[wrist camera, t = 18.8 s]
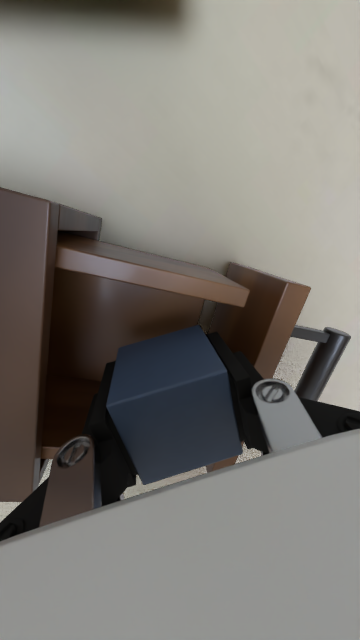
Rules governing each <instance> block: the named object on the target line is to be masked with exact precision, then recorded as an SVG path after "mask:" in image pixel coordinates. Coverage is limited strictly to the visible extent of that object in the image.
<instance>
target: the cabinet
mask: <svg viewBox="0 0 360 640" xmlns="http://www.w3.org/2000/svg"><path fill="white" fill-rule="evenodd" d="M101 222H102V218H99V217H97V216H94V215H91V214H88V213H85V212H82V211H79V210H76V209H73V208H70V207H67V206H64V205H61V204H58V203H55V202H52V201H49V200H45V199H42V198H38V197H34V196H31V195H27V194H23V193H19V192H16V191H12V190H8V189H5V188H1V187H0V502H23V501H24V500H25V499H26V498H27V497H28V496H29V495H30V494H31V493H32V492H33V491H34V490H36V489H37V488H38V486H39V483H40V481H41V478H42V476H43V473H44V471H45V469H46V466H47V464H48V461H49V459H41V446H42V432H43V419H44V406H45V392H46V379H47V365H48V352H49V338H50V325H51V312H52V298H53V285H54V271H55V258H56V244H57V231H60V232H64V233H68V234H72V235H76V236H80V237H84V238H88V239H92V240H96V241H99V238H100V230H101Z"/></svg>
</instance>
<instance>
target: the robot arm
mask: <svg viewBox="0 0 360 640" xmlns="http://www.w3.org/2000/svg"><path fill="white" fill-rule="evenodd" d="M206 337H207V338H208V340H209V342H210V343H211V345H212V347H213V348H214V350H215V352H216V353H217V355H218V357H219V358H220V360H221V362H222V363H223V365H224V367H225V368H226V370H227V374H228V379H229V384H230V392H231V397H232V402H233V407H234V412H235V417H236V422H237V427H238V432H239V437H240V441H241V442H242V441H244V442H245V444H246V446H247V448H248V449H251V448H255V449H257V450H259V451H261V455H262V456H260V457H257V458H254V459H250V460H247V461H244V462H241V463H237V464H234V465H231V466H228V467H225V468H221V469H218V470H215V471H212V472H209V473H206V474H202V475H199V476H196V477H193V478H190V479H187V480H184V481H180V482H177V483H174V484H171V485H168V486H165V487H162V488H158V489H155V490H152V491H149V492H146V493H143V494H140V495H136V496H133V497H130V498H127V499H124V495H123V492H124V491H125V489H126V488H127V487H130V486H134V485H136V475H137V474H138V473H137V470H136V468H135V466H134V464H133V462H132V460H131V458H130V456H129V454H128V451H127V449H126V447H125V445H124V443H123V441H122V439H121V437H120V435H119V432H118V430H117V428H116V426H115V424H114V422H113V420H112V418H111V416H110V414H109V412H108V409H107V407H106V404H107V399H108V394H109V390H110V385H111V381H112V376H113V372H114V367H115V362H116V361H113V362H109V363H106V366H105V370H104V373H103V377H102V380H101V383H100V387H99V390H98V393H96V394H94V396H93V399H92V402H91V405H90V409H89V412H88V415H87V418H86V422H85V425H84V428H83V431H82V434H81V435H78V436H75V437H73V438H71V439H70V440H68V441H67V442H66V443H64V444H63V445H62V446H61V447H60V448H59V450H58V451H57V452H56V454H55V456H54V458H53V461H52V465H51V470H50V475H49V477H48V478H47V479H46V480H45V481H44V482H43V483H42V484H41V485H40V486H39V487H38V488H37V489H36V490H34V491H33V492H32V493H31V494H30V495H29V496H28V497H27V498H26V499H25V500H24V501H23V502H22V503H21V504H20V505H19V506H17V507H16V508H15V509H14V510H13V511H12V512H11V513H10V514H9V515H8V516H7V517H6V518H5V519H4V520H3V521H2V522H0V640H360V412H359V411H355V410H351V409H347V408H343V407H339V406H334V405H330V404H326V403H322V402H318V401H313V400H309V399H305V398H301V397H298V396H297V395H296V393H295V391H294V390H293V388H292V387H291V386H290V385H289V384H288V383H286V382H285V381H282V380H279V379H273V378H270V379H263V377H262V376H261V375H260V374H259V372H258V371H257V370H256V369H255V368H254V366H253V365H252V364H251V363H250V361H249V360H248V359H247V358H246V357H245V355H244V354H243V353H242V352H241V351H238V352H235V353H232V351H231V350H230V349H229V347H228V346H227V345H226V343H225V342H224V340H223V339H222V338H221V336H220V335H219V334H218V332H217V331H216V332H213V333H209V334H206Z"/></svg>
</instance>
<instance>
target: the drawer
mask: <svg viewBox="0 0 360 640" xmlns="http://www.w3.org/2000/svg"><path fill="white" fill-rule="evenodd" d="M310 290H311V288H310V287H308V286H305V285H302V284H299V283H296V282H293V281H290V280H287V279H284V278H281V277H278V276H275V275H272V274H269V273H266V272H263V271H260V270H257V269H253V268H250V267H247V266H244V265H240V264H236V263H232V262H230V264H229V268H228V271H227V274H226V277H225V276H223V275H221V274H219V273H217V272H216V271H214V270H212V269H210V268H207V267H203V266H198V265H194V264H190V263H186V262H182V261H178V260H174V259H170V258H166V257H162V256H158V255H154V254H149V253H145V252H141V251H137V250H133V249H129V248H125V247H121V246H117V245H113V244H109V243H104V242H100V241H96V240H92V239H88V238H84V237H80V236H76V235H72V234H68V233H64V232H60V231H57V244H56V258H55V271H54V285H53V298H52V312H51V325H50V338H49V352H48V365H47V379H46V392H45V406H44V419H43V432H42V446H41V459H53V458H54V456H55V454H56V452H57V451H58V450H59V448H60V447H61V446H62V445H63V444H64V443H66V442H67V441H68V440H70V439H71V438H73V437H75V436H78V435H81V434H82V431H83V428H84V425H85V422H86V418H87V415H88V412H89V409H90V405H91V402H92V399H93V396H94V394H96V393H98V390H99V387H100V383H101V380H102V377H103V373H104V370H105V366H106V363H109V362H113V361H116V358H117V353H118V349H119V348H120V347H123V346H126V345H130V344H133V343H137V342H140V341H144V340H147V339H151V338H154V337H158V336H161V335H165V334H168V333H171V332H175V331H178V330H182V329H185V328H189V327H192V326H196V325H197V324H198V321H199V317H200V314H201V311H202V307H203V304H204V300H209V301H214V302H218V303H217V306H216V310H215V313H214V316H213V319H212V322H211V326H210V329H209V332H208V334H209V333H213V332H216V331H217V332H218V334H219V335H220V336H221V338H222V339H223V340H224V342H225V343H226V345H227V346H228V347H229V349H230V350H231V351H232V353H235V352H238V351H241V352H242V353H243V354H244V355H245V357H246V358H247V359H248V360H249V361H250V363H251V364H252V365H253V366H254V368H255V369H256V370H257V371H258V372H259V374H260V375H261V376H262V377H263V379H270V378H272V377H273V375H274V372H275V370H276V368H277V366H278V363H279V361H280V359H281V356H282V354H283V352H284V349H285V347H286V345H287V343H288V340H289V338H290V337H295V338H301V339H306V340H311V341H316V342H318V343H317V345H316V347H315V349H314V351H313V353H312V355H311V357H310V359H309V361H308V364H307V366H306V368H305V370H304V372H303V374H302V376H301V378H300V380H299V382H298V384H297V386H296V389H295V393H296V395H297V396H298V397H301V398H305V399H309V400H313V401H318V399H319V397H320V395H321V393H322V391H323V390H324V388H325V386H326V384H327V382H328V380H329V378H330V376H331V374H332V372H333V371H334V369H335V367H336V365H337V363H338V361H339V359H340V357H341V355H342V353H343V352H344V350H345V348H346V346H347V344H348V342H349V340H350V338H351V336H350V335H349V334H347V333H345V332H343V331H340V330H337V329H334V328H330V327H325V328H324V330H323V331H322V330H318V329H313V328H308V327H303V326H298V325H295V324H296V322H297V320H298V317H299V315H300V313H301V310H302V308H303V306H304V303H305V301H306V299H307V297H308V294H309V292H310ZM243 444H244V441H242V442H241V445H242V446H243ZM237 458H238V456H235V457H231V458H228V459H225V460H222V461H219V462H216V463H212V464H209V465H206V469H207V473H209V472H212V471H215V470H218V469H221V468H225V467H228V466H231V465H234V464H235V462H236V460H237Z"/></svg>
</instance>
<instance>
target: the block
mask: <svg viewBox="0 0 360 640" xmlns="http://www.w3.org/2000/svg"><path fill="white" fill-rule="evenodd" d="M106 407H107V409H108V412H109V414H110V416H111V418H112V420H113V422H114V424H115V426H116V428H117V430H118V432H119V435H120V437H121V439H122V441H123V443H124V445H125V447H126V449H127V451H128V454H129V456H130V458H131V460H132V462H133V464H134V466H135V468H136V470H137V473H138V475H139V477H140V479H141V481H142V483H143V485H146V484H149V483H152V482H156V481H159V480H162V479H165V478H168V477H171V476H175V475H178V474H181V473H184V472H187V471H190V470H193V469H197V468H200V467H203V466H206V465H209V464H212V463H216V462H219V461H222V460H225V459H228V458H231V457H235V456H238V455H241V454H242V453H243V450H242V445H241V441H240V437H239V432H238V427H237V422H236V417H235V412H234V407H233V402H232V397H231V392H230V384H229V379H228V374H227V370H226V368H225V367H224V365H223V363H222V362H221V360H220V358H219V357H218V355H217V353H216V352H215V350H214V348H213V347H212V345H211V343H210V342H209V340H208V338H207V337H206V335H205V333H204V332H203V330H202V328H201V327H200V325H196V326H192V327H189V328H185V329H182V330H178V331H175V332H171V333H168V334H165V335H161V336H158V337H154V338H151V339H147V340H144V341H140V342H137V343H133V344H130V345H126V346H123V347H120V348H119V349H118V353H117V358H116V362H115V367H114V372H113V376H112V381H111V385H110V390H109V394H108V399H107V404H106Z"/></svg>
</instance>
